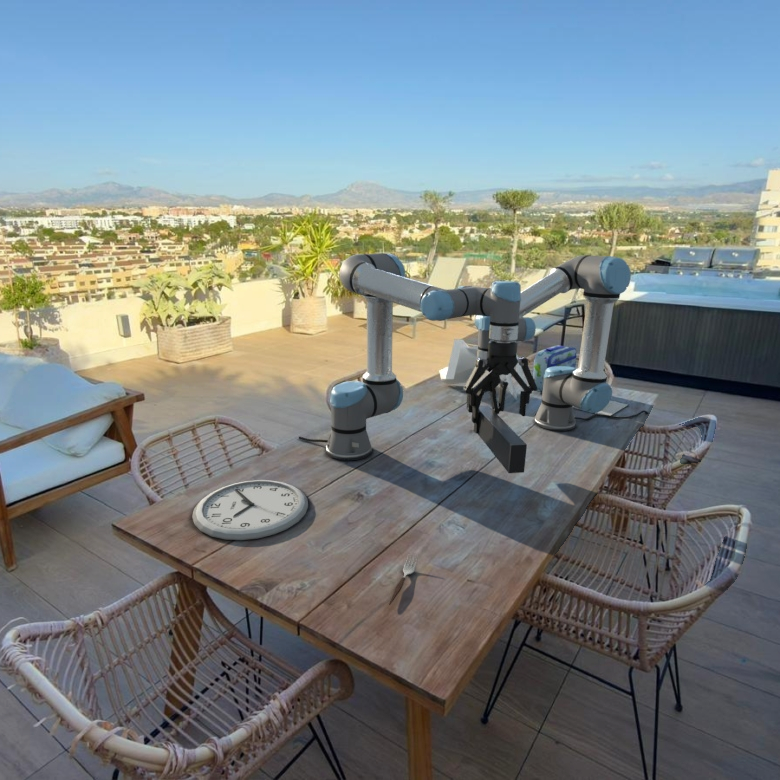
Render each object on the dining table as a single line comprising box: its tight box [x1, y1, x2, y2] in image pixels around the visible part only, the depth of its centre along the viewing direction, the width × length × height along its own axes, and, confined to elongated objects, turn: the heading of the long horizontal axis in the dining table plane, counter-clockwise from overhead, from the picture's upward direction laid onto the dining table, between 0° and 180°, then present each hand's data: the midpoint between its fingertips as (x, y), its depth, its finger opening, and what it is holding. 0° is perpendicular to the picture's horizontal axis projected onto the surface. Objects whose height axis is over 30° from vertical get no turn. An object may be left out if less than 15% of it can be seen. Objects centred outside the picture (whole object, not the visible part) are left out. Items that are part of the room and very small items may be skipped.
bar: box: [476, 404, 528, 474], centre depth 158 cm, size 33×4×8 cm, turn 8°
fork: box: [388, 554, 419, 606], centre depth 112 cm, size 3×16×2 cm, turn 160°
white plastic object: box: [438, 338, 528, 400], centre depth 245 cm, size 37×45×31 cm
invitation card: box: [573, 400, 629, 416], centre depth 226 cm, size 21×1×15 cm
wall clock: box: [191, 479, 309, 541], centre depth 140 cm, size 30×2×30 cm
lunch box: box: [532, 345, 577, 394], centre depth 245 cm, size 26×11×21 cm, turn 134°
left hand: (498, 415), depth 145 cm, fingers open, 13 cm apart
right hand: (483, 431), depth 171 cm, fingers closed on bar, 4 cm apart
